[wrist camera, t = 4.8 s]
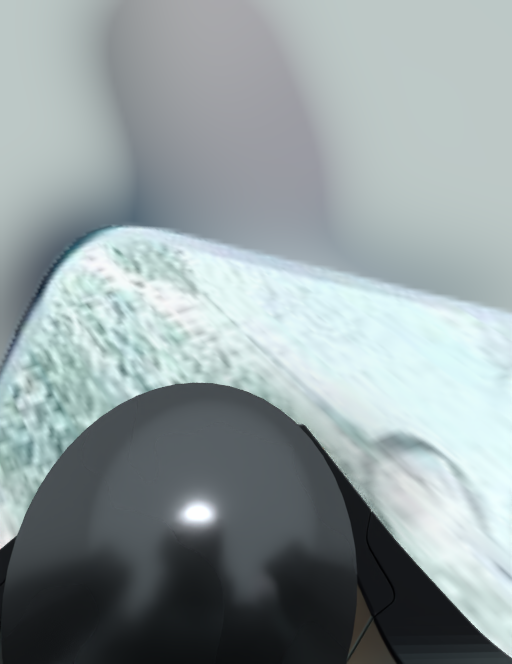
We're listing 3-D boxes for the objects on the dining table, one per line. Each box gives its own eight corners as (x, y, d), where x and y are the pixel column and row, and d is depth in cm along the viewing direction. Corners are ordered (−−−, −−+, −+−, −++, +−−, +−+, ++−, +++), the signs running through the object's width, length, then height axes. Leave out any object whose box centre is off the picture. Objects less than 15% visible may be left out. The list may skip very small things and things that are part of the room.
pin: (287, 479, 14) (421, 716, 3) (203, 509, 14) (-5, 933, 3) (261, 395, 16) (289, 349, 5) (185, 419, 15) (2, 433, 4)
